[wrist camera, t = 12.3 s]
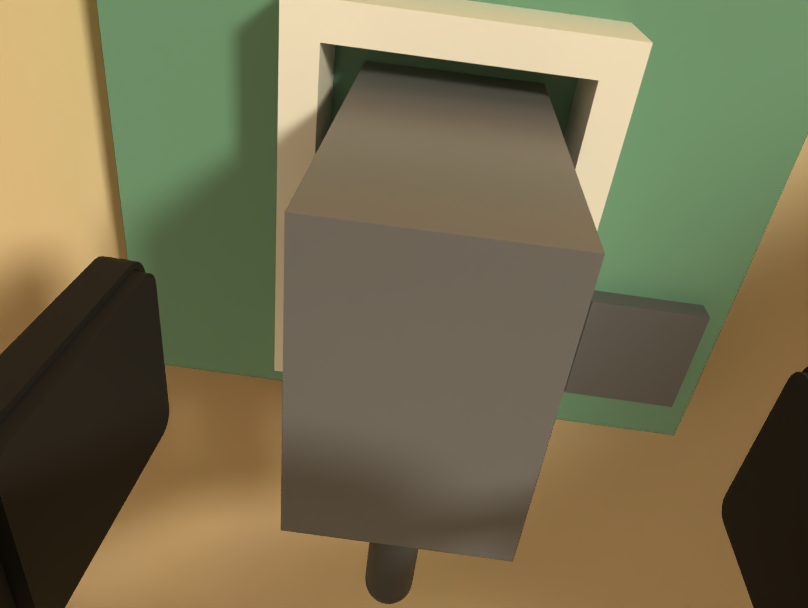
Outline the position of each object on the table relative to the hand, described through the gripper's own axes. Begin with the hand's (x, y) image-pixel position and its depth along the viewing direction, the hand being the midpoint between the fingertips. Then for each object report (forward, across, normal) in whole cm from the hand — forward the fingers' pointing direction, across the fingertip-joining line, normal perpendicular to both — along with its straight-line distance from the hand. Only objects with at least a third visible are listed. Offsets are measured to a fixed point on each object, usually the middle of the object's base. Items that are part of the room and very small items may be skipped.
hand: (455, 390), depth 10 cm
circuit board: (+9, +1, 0) cm, 9 cm away
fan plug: (+8, +1, +2) cm, 8 cm away
